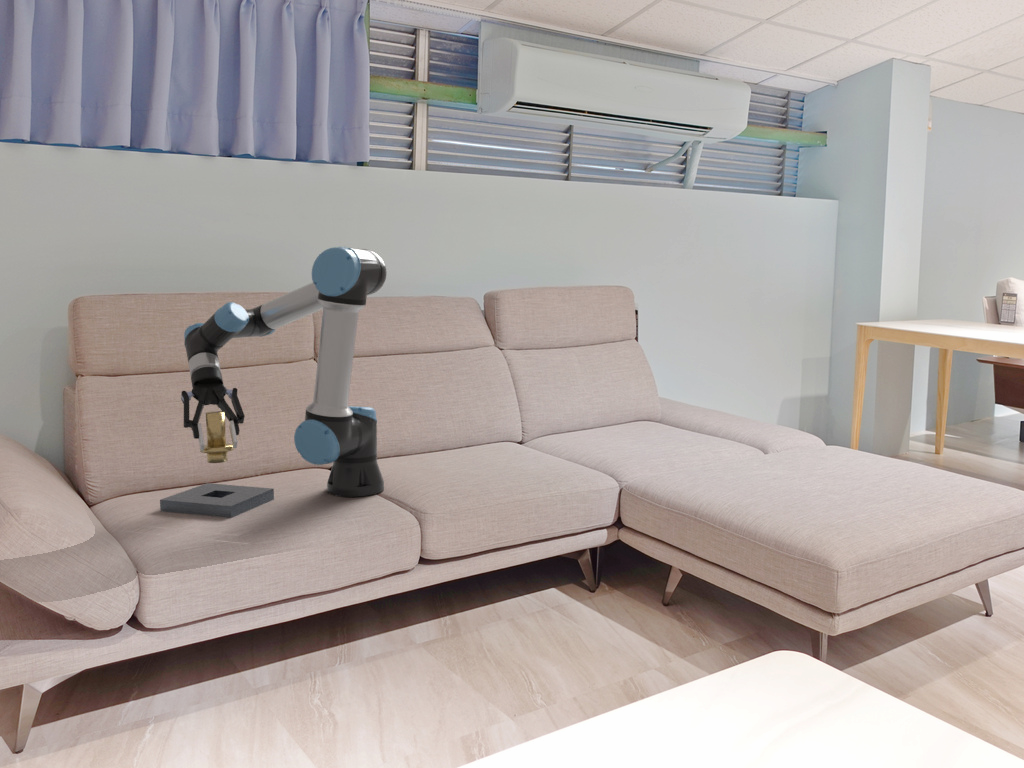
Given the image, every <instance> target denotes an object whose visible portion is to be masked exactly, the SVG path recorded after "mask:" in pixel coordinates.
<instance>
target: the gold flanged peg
mask: <svg viewBox="0 0 1024 768" xmlns="http://www.w3.org/2000/svg"><path fill="white" fill-rule="evenodd" d="M205 425H206V426H205V427H206V442H207V443H206V444H205V446H204V451H200V450H199V452H200V453H203V454H206V458H207V459H206V461H207V463H209V464H223V463H226V462H229V459H228V458H229V457H228V452H232V451H234V450H235V448H233V444H232V443H228V442H227V437H226V436H227V430H226V416H225V412H223V411H222V410H221V411H218V410H217V411H214V410H213V411H207V412H205Z"/></svg>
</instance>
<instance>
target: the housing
mask: <svg viewBox="0 0 1024 768" xmlns="http://www.w3.org/2000/svg"><path fill="white" fill-rule="evenodd" d="M274 489H275V488H273V487H272V488H271V487H260V486H259V487H258V486H247V485H246V486H245V485H235V484H222V483H209V482H207V483H204V484H202V485H201V484H200V485H198V486H194V487H192V488H190V489H187V490H183V491H181V492H179V493H178V492H177V493H175V494H172V495H170V496H166V497H163V498H161V499H159V509H160V510H159V511H160V512H162V513H163V512H164V513H165V512H166V513H174V514H185V515H186V514H187V515H197V516H206V517H208V516H209V517H219V518H228V519H232V518H234V517H237V516H239V515H241V514H243V513H246V512H248V511H251V510H253V509H255V508H258V507H259V506H260V507H261V506H262V505H264V504H266V503H269V502H272V501H274V500H275V491H274Z"/></svg>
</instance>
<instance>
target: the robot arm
mask: <svg viewBox="0 0 1024 768" xmlns="http://www.w3.org/2000/svg"><path fill="white" fill-rule="evenodd" d="M386 266H387V265H386V264H385V262H384V260H383V258H382V257H381V256H380V255H379V254H378V253H376V252H374V251H372V250H370V249H366V248H353V247H347V246H335V247H329V248H327V249H325V250H323V251H322V252H321V253H319V254H318V256H317V257H316V258H315V260H314V262H313V265H312V267H311V268H312V269H311V280H312V282H311V283H308V284H306V285H303V286H301V287H299V288H297V289H295V290H292V291H289V292H288V293H286V294H283V295H280V296H278V297H276V298H273V299H271V300H270V301H267V302H265V303H263V304H260V305H259V306H256V307H254V308H248V309H246V308H244V307H243V306H242V305H240V304H239V303H236V302H232V301H228V302H226V303H225V304H224V305H222V306H221V307H219V308H218V309H216V311H215V312H214V313H213V314H212V315H211V316H210V317H209V318H208V319H207V320H206V321H205V322H204V323H203V322H197V323H194V324H190V325H189V326H188V327H186V328H185V331H184V333H183V337H184V342H183V343H184V344H183V345H184V347H185V352H186V357H187V362H188V369H189V373H190V381H191V386H192V389H191V390H190V391H185V390H182V391H181V396H180V400H181V401H182V404H183V428H185V429H188V428H189V429H191V431H192V435H193V436H192V437H193V438H194V439H195V440H196V439H198V443H199V452H200V451H204V446H205V445H206V444H205V440H204V432H203V428H202V422H200V419H201V416H202V413H203V410H204V408H205V407H204V406H210V405H213V406H214V405H215V406H216V407H217V408H218V409H220V410H221V411H223V412H225V418H226V419H227V420H228V422H229V433H230V438H231V444H233V448H234V449H237V447H238V442H239V441H238V436H239V435H240V424H244V421H245V413H244V411H243V408H242V405H241V402H240V399H239V397H238V388H237V387H233V388H232V389H227V388H226V386H225V385H224V379H223V375H222V369H221V364H220V359H219V355H218V354H219V353H218V351H219V350H220V349H222V348H223V347H224V346H226V344H227V343H229V342H230V341H231V340H232V339H240V338H251V337H253V338H254V337H258V338H259V337H265V336H269V335H272V334H273V333H274V332H276V330H277V329H278V328H282V327H284V326H286V325H288V324H290V323H293V322H295V321H298V320H301V319H303V318H305V317H308V316H310V315H312V314H315V313H317V312H319V311H322V317H321V327H320V334H319V335H320V336H319V345H318V352H317V361H316V362H317V363H316V371H315V372H316V374H315V382H314V383H315V384H314V389H313V390H314V391H313V397H312V398H313V401H312V402H311V403H310V404H308V405H307V406H306V407H305V415H304V416H305V417H304V420H303V421H302V422H301V423H300V424H299V425H297V427H296V429H295V432H294V434H293V435H294V436H293V441H294V446H295V449H296V451H297V453H298V454H300V457H301V458H302V459H303V460H304V461H305V462H308V463H310V464H312V465H316V466H321V465H326V464H332V466H331V470H330V472H329V477H328V479H327V481H326V491H327V493H328V494H329V493H330V494H329V495H331V494H333V495H332V496H335V495H337V497H343V496H344V498H345V497H348V498H349V497H350V498H353V497H354V498H355V497H357V498H358V497H366V496H372V495H375V494H376V495H377V494H379V493H382V492H383V491H384V489H385V485H384V484H385V480H384V477H383V476H382V473H381V470H380V467H379V463H378V455H377V453H378V447H377V446H378V444H377V443H378V442H377V441H378V437H377V435H378V434H377V433H378V431H377V430H378V427H377V424H378V419H377V412H376V411H377V410H376V409H374V407H371V406H358V405H357V406H354V405H353V406H352V405H349V396H350V388H351V380H352V371H353V363H354V362H353V361H354V356H355V355H354V354H355V346H356V337H357V328H358V320H359V312H360V311H361V310H362V309H364V308H365V307H366V305H367V299H368V298H367V296H370V295H373V294H375V293H377V292H378V291H379V290H380V289H381V288H382V287H383V286H384V285H385V282H386V279H387V267H386ZM226 395H227V396H228V398H229V400H230V401H231V405H232V407H233V409H234V411H233V410H232V408H231V407H230V405H229V404H228V402H227V401H226V399H225V396H226ZM192 397H193V398H194V399H195V400H196V401H198V402H197V406H196V408H195V411H194V415H193V418H192V419H190V401H191V400H192Z"/></svg>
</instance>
